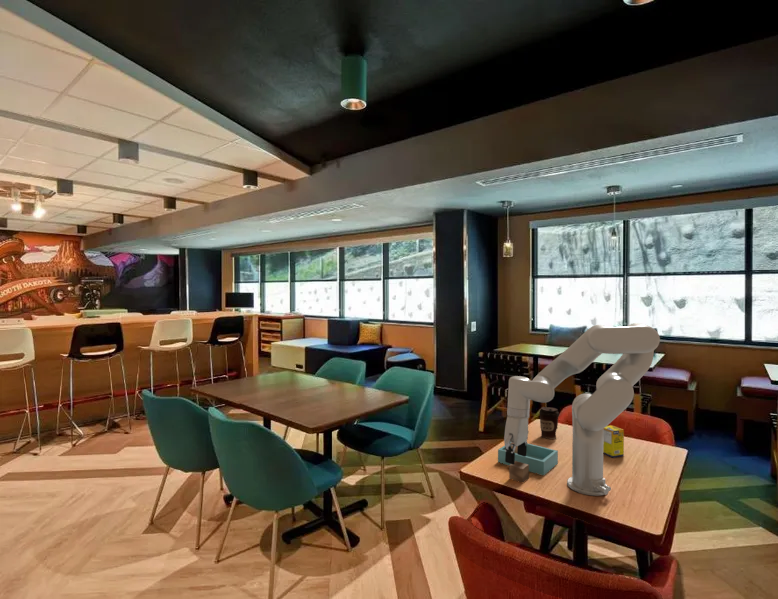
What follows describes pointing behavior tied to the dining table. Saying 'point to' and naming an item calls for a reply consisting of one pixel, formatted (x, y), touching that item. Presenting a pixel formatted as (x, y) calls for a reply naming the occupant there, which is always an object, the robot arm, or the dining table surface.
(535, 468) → the tote
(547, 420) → the coffee cup
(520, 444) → the robot arm
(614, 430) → the supplement box
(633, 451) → the dining table surface
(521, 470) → the cube
